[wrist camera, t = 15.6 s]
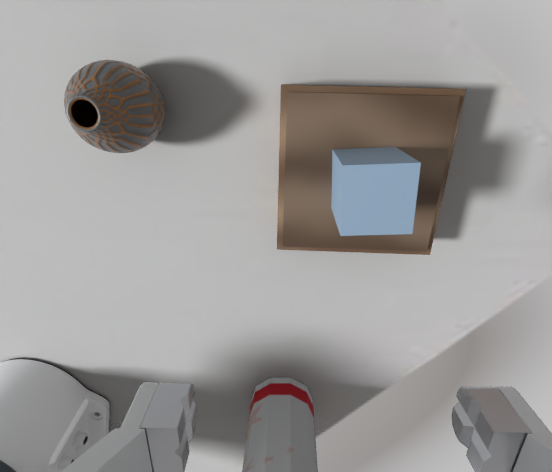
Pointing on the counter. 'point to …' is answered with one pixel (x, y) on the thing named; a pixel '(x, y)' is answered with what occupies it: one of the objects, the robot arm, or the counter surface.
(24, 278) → the counter surface
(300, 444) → the nozzle bottle
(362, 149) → the slate block
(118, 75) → the vase
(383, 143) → the walnut plinth
